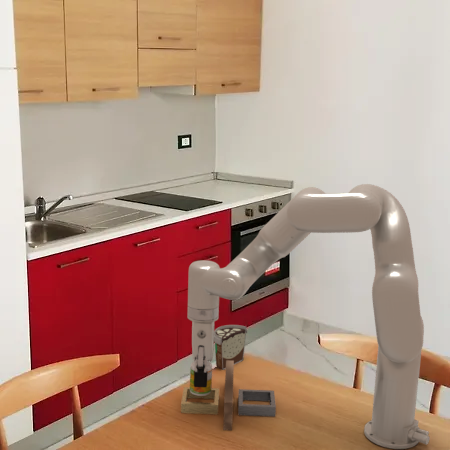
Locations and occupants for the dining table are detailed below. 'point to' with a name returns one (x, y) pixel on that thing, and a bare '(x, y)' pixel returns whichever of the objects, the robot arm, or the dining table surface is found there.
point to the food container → (229, 344)
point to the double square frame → (242, 408)
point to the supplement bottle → (207, 390)
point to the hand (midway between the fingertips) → (201, 380)
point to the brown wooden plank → (228, 395)
